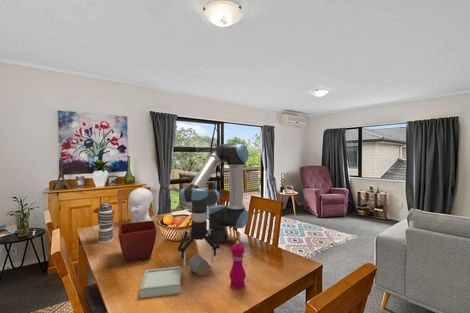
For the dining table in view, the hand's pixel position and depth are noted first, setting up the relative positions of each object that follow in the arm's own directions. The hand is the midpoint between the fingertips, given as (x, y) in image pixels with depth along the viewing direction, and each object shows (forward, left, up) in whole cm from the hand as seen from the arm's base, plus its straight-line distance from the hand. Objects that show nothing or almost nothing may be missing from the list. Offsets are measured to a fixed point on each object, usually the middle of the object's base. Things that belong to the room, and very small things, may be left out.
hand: (198, 263), depth 117 cm
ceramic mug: (-1, -1, -5) cm, 5 cm away
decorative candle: (+58, -55, -5) cm, 80 cm away
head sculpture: (+42, -87, -5) cm, 97 cm away
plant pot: (+33, -26, -5) cm, 42 cm away
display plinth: (+17, +8, -5) cm, 19 cm away
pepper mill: (-16, +15, -5) cm, 22 cm away
